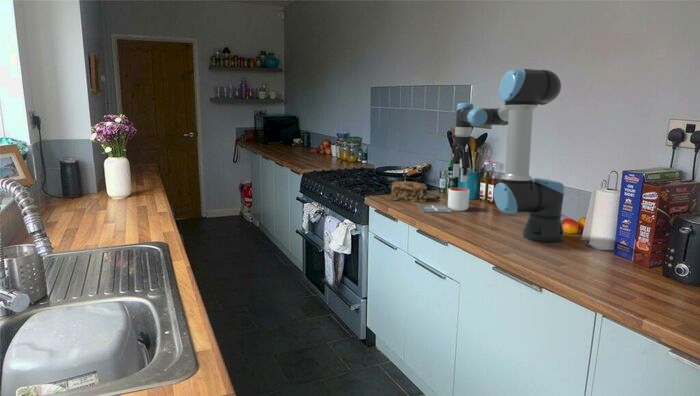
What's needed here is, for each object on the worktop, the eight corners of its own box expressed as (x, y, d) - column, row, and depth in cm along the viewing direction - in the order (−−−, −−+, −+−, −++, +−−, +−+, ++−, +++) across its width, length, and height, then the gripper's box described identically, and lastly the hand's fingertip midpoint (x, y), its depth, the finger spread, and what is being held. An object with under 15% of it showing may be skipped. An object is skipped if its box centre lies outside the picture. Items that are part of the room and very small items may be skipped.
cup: (470, 211, 227) (471, 191, 225) (449, 211, 228) (450, 191, 225) (465, 207, 237) (467, 187, 235) (445, 206, 237) (447, 187, 235)
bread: (390, 201, 247) (391, 182, 245) (391, 197, 258) (392, 179, 256) (426, 203, 245) (427, 184, 243) (425, 198, 255) (426, 180, 253)
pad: (452, 212, 224) (452, 211, 224) (423, 212, 223) (423, 211, 223) (444, 206, 238) (444, 204, 238) (417, 206, 237) (417, 204, 237)
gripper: (479, 138, 213) (475, 184, 218) (462, 133, 237) (459, 174, 242) (462, 138, 212) (459, 184, 217) (448, 133, 237) (445, 174, 241)
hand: (459, 179), depth 229 cm, fingers open, 13 cm apart
